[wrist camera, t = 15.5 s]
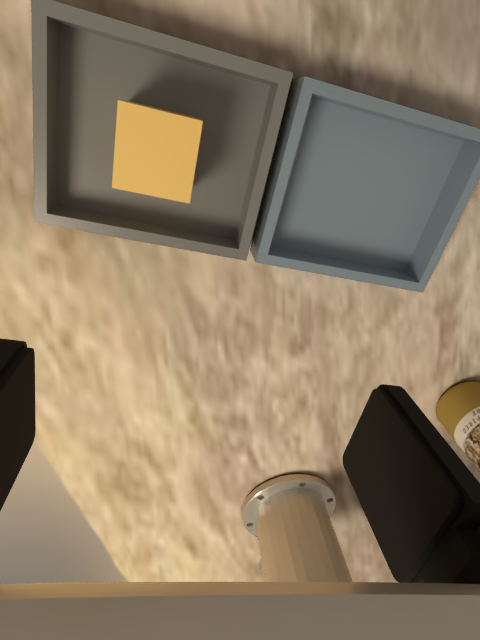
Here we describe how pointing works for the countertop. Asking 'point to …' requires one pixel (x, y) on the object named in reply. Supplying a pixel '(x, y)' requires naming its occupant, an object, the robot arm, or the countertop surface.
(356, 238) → the slate-blue tray
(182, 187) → the ochre block
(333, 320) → the countertop surface
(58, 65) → the charcoal tray
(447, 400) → the paper tube
